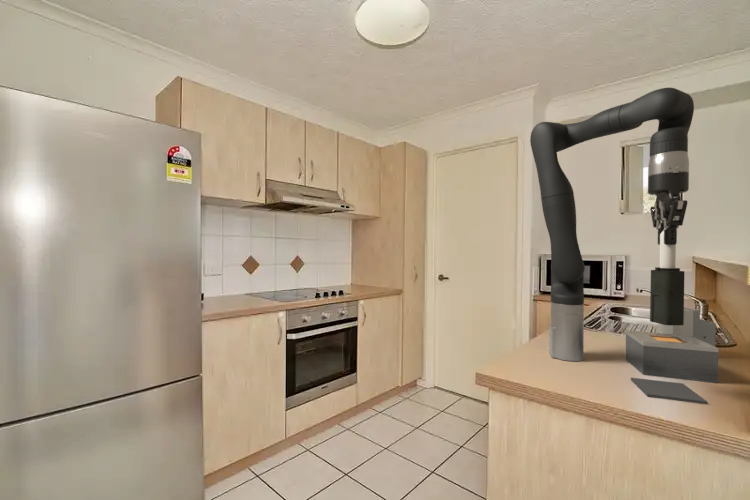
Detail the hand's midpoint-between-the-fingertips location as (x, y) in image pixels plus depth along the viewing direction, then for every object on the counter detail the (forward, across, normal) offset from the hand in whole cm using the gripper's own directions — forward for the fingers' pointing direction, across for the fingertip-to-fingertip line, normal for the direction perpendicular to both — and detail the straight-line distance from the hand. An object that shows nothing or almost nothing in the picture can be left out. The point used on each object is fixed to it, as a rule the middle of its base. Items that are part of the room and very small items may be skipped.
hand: (666, 244), depth 83 cm
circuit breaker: (+36, -39, +20) cm, 57 cm away
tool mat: (+36, 0, 0) cm, 36 cm away
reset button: (+34, -18, +7) cm, 39 cm away
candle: (+19, 0, 0) cm, 19 cm away
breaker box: (+36, -18, +7) cm, 41 cm away
